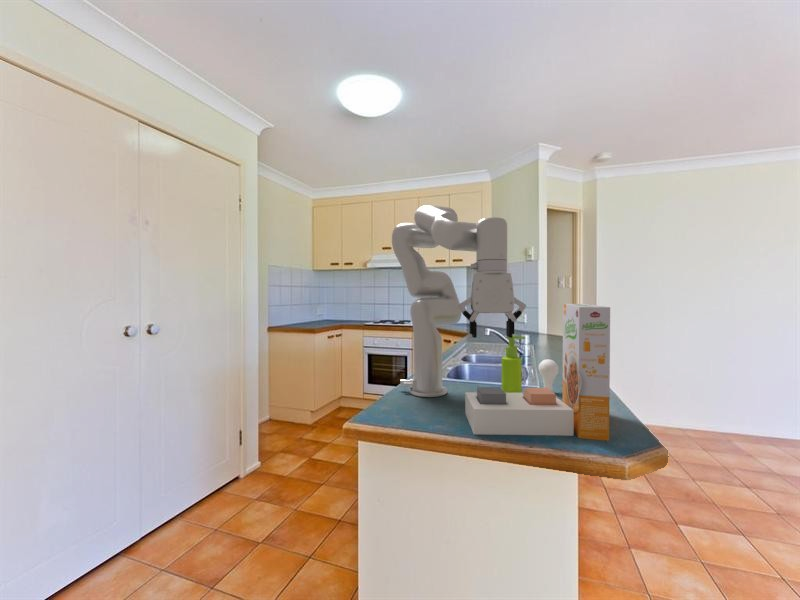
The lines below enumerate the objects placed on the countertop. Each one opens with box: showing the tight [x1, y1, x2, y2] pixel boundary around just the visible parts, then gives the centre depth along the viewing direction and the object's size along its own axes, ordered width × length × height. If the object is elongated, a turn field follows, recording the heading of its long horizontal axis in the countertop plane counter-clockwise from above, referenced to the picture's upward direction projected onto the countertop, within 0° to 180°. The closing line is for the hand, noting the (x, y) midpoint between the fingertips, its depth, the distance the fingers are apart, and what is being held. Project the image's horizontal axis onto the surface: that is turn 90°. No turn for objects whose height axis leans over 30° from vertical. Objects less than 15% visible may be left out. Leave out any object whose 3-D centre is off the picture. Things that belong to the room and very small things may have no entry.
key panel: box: [464, 391, 575, 437], centre depth 90 cm, size 23×14×6 cm, turn 88°
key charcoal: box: [476, 386, 506, 405], centre depth 90 cm, size 6×6×4 cm
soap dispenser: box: [501, 334, 526, 393], centre depth 110 cm, size 6×7×20 cm
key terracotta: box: [522, 387, 557, 405], centre depth 90 cm, size 6×6×4 cm
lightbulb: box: [538, 358, 560, 392], centre depth 118 cm, size 6×6×11 cm
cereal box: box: [561, 303, 611, 442], centre depth 91 cm, size 22×6×30 cm, turn 164°
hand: (491, 336), depth 90 cm, fingers open, 8 cm apart
